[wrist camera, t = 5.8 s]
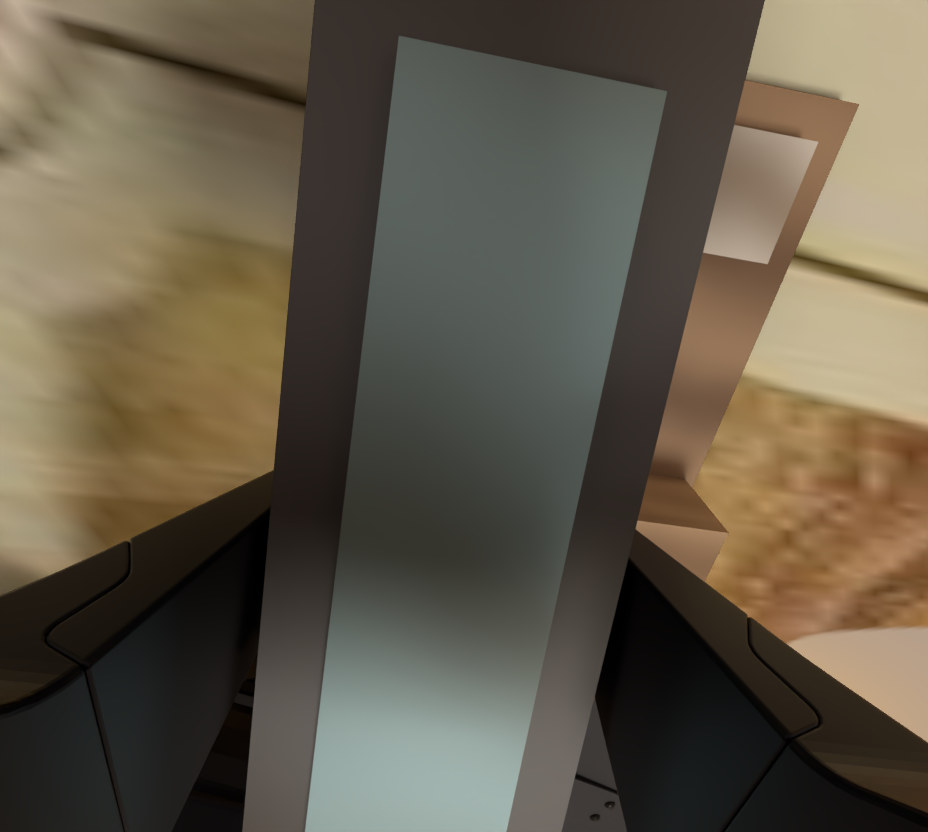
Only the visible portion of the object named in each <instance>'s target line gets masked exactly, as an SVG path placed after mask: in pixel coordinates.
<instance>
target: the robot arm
mask: <svg viewBox="0 0 928 832" xmlns="http://www.w3.org/2000/svg"><path fill="white" fill-rule="evenodd" d="M273 475H274V470H273V471H271V472H269V473H267V474H265V475H262V476H260V477H258V478H256V479H254V480H252V481H250V482H248V483H246V484H244V485H241V486H239V487H237V488H235V489H233V490H231V491H229V492H227V493H225V494H223V495H220V496H218V497H216V498H214V499H212V500H210V501H208V502H206V503H204V504H202V505H200V506H197V507H195V508H193V509H191V510H189V511H187V512H185V513H183V514H181V515H179V516H176V517H174V518H172V519H170V520H168V521H166V522H164V523H162V524H160V525H157V526H155V527H153V528H151V529H149V530H147V531H145V532H143V533H141V534H139V535H136V536H134V537H132V538H131V539H130V541H129V542H128V541H124V542H121V543H119V544H117V545H115V546H113V547H111V548H109V549H107V550H105V551H103V552H100V553H98V554H96V555H94V556H92V557H89V558H87V559H85V560H83V561H81V562H79V563H76V564H74V565H72V566H70V567H68V568H65V569H63V570H61V571H59V572H56V573H54V574H51V575H49V576H47V577H44V578H42V579H39V580H37V581H35V582H32V583H30V584H28V585H25V586H23V587H20V588H18V589H16V590H13V591H11V592H8V593H6V594H3V595H1V596H0V832H242V830H243V819H244V807H245V796H246V784H247V773H248V762H249V750H250V739H251V727H252V716H253V704H254V693H255V681H256V670H257V658H258V647H259V635H260V624H261V613H262V601H263V590H264V578H265V567H266V555H267V544H268V532H269V521H270V509H271V498H272V486H273ZM594 698H595V702H596V706H597V710H598V714H599V718H600V722H601V727H602V731H603V735H604V739H605V743H606V747H607V751H608V756H609V760H610V764H611V768H612V772H613V776H614V780H615V785H616V789H617V793H618V797H619V801H620V805H621V809H622V814H623V818H624V822H625V826H626V830H627V832H928V743H927V742H926V741H924V740H923V739H922V738H920V737H919V736H917V735H916V734H914V733H913V732H912V731H910V730H909V729H907V728H906V727H904V726H903V725H901V724H900V723H898V722H897V721H895V720H894V719H892V718H891V717H890V716H888V715H887V714H885V713H884V712H882V711H881V710H879V709H878V708H877V707H875V706H874V705H872V704H871V703H869V702H868V701H866V700H865V699H863V698H862V697H861V696H859V695H858V694H856V693H855V692H853V691H852V690H850V689H849V688H847V687H846V686H845V685H843V684H842V683H840V682H839V681H837V680H836V679H834V678H833V677H832V676H830V675H829V674H827V673H826V672H825V671H823V670H822V669H820V668H819V667H817V666H816V665H814V664H813V663H812V662H810V661H809V660H808V659H806V658H805V657H803V656H802V655H801V654H799V653H798V652H797V651H795V650H794V649H792V648H791V647H790V646H788V645H787V644H786V643H784V642H783V641H782V640H780V639H779V638H778V637H776V636H775V635H774V634H772V633H771V632H770V631H768V630H767V629H766V628H764V627H763V626H762V625H761V624H759V623H758V622H757V621H755V620H754V619H753V618H751V617H749V618H748V617H747V614H746V613H745V612H743V611H742V610H741V609H739V608H738V607H737V606H736V605H734V604H733V603H732V602H730V601H729V600H728V599H726V598H725V597H724V596H722V595H721V594H720V593H719V592H717V591H716V590H715V589H713V588H712V587H711V586H709V585H708V584H707V583H705V582H704V581H703V580H701V579H700V578H699V577H698V576H696V575H695V574H694V573H692V572H691V571H690V570H688V569H687V568H686V567H684V566H683V565H682V564H681V563H679V562H678V561H677V560H675V559H674V558H673V557H671V556H670V555H669V554H667V553H666V552H665V551H664V550H662V549H661V548H660V547H658V546H657V545H656V544H654V543H653V542H652V541H650V540H649V539H648V538H646V537H645V536H644V535H643V534H641V533H640V532H639V531H637V530H636V529H635V533H634V537H633V541H632V545H631V549H630V554H629V558H628V562H627V566H626V570H625V574H624V578H623V582H622V586H621V590H620V595H619V599H618V603H617V607H616V611H615V615H614V619H613V623H612V627H611V631H610V635H609V640H608V644H607V648H606V652H605V656H604V660H603V664H602V668H601V672H600V676H599V680H598V685H597V689H596V693H595V697H594Z"/></svg>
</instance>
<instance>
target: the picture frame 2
mask: <svg viewBox="0 0 928 832" xmlns="http://www.w3.org/2000/svg"><path fill="white" fill-rule="evenodd" d="M562 832H627V830H626V826H625V822H624V818H623V814H622V809H621V805H620V801H619V797H618V793H617V789H616V785H615V780H614V776H613V772H612V768H611V764H610V760H609V756H608V751H607V747H606V743H605V739H604V735H603V731H602V727H601V722H600V718H599V714H598V710H597V706H596V702H595V698H594V701H593V705H592V709H591V713H590V717H589V721H588V725H587V730H586V734H585V738H584V742H583V746H582V750H581V754H580V758H579V762H578V766H577V771H576V775H575V779H574V783H573V787H572V791H571V795H570V799H569V803H568V807H567V811H566V816H565V820H564V824H563V828H562Z"/></svg>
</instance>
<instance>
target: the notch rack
mask: <svg viewBox="0 0 928 832" xmlns="http://www.w3.org/2000/svg"><path fill="white" fill-rule="evenodd" d="M858 106H859V104H856V103H851V102H846V101H842V100H837V99H832V98H827V97H822V96H818V95H813V94H808V93H803V92H799V91H794V90H789V89H784V88H780V87H775V86H770V85H765V84H761V83H756V82H751V81H746V80H745V83H744V87H743V91H742V95H741V99H740V103H739V107H738V111H737V116H736V120H735V124H734V128H733V132H732V136H731V140H730V144H729V148H728V152H727V157H726V161H725V165H724V169H723V173H722V177H721V181H720V185H719V189H718V193H717V197H716V202H715V206H714V210H713V214H712V218H711V222H710V226H709V230H708V234H707V238H706V242H705V247H704V251H703V255H702V259H701V263H700V267H699V271H698V275H697V279H696V283H695V288H694V292H693V296H692V300H691V304H690V308H689V312H688V316H687V320H686V324H685V328H684V333H683V337H682V341H681V345H680V349H679V353H678V357H677V361H676V365H675V369H674V373H673V378H672V382H671V386H670V390H669V394H668V398H667V402H666V406H665V410H664V414H663V418H662V423H661V427H660V431H659V435H658V439H657V443H656V447H655V451H654V455H653V459H652V464H651V468H650V472H649V476H648V480H647V484H646V488H645V492H644V496H643V500H642V504H641V509H640V513H639V517H638V521H637V525H636V530H637V531H639V532H640V533H641V534H643V535H644V536H645V537H646V538H648V539H649V540H650V541H652V542H653V543H654V544H656V545H657V546H658V547H660V548H661V549H662V550H664V551H665V552H666V553H667V554H669V555H670V556H671V557H673V558H674V559H675V560H677V561H678V562H679V563H681V564H682V565H683V566H684V567H686V568H687V569H688V570H690V571H691V572H692V573H694V574H695V575H696V576H698V577H699V578H700V579H701V580H703V581H704V582H705V580H706V578H707V576H708V574H709V572H710V570H711V568H712V566H713V564H714V562H715V560H716V558H717V556H718V554H719V552H720V550H721V547H722V545H723V543H724V541H725V539H726V537H727V535H728V532H727V530H726V529H725V528H724V527H723V525H722V524H721V523H720V522H719V520H718V519H717V518H716V517H715V515H714V514H713V513H712V512H711V511H710V509H709V508H708V507H707V506H706V504H705V503H704V502H703V501H702V499H701V498H700V497H699V496H698V495H697V493H696V492H695V491H694V490H693V488H692V487H693V485H694V483H695V480H696V478H697V476H698V473H699V471H700V469H701V467H702V464H703V462H704V460H705V457H706V455H707V453H708V450H709V448H710V446H711V444H712V441H713V439H714V437H715V434H716V432H717V430H718V428H719V425H720V423H721V421H722V418H723V416H724V414H725V411H726V409H727V407H728V405H729V402H730V400H731V398H732V395H733V393H734V391H735V388H736V386H737V384H738V382H739V379H740V377H741V375H742V372H743V370H744V368H745V366H746V363H747V361H748V359H749V356H750V354H751V352H752V349H753V347H754V345H755V343H756V340H757V338H758V336H759V333H760V331H761V329H762V326H763V324H764V322H765V320H766V317H767V315H768V313H769V310H770V308H771V306H772V303H773V301H774V299H775V297H776V294H777V292H778V290H779V287H780V285H781V283H782V281H783V278H784V276H785V274H786V271H787V269H788V267H789V264H790V262H791V260H792V258H793V255H794V253H795V251H796V248H797V246H798V244H799V241H800V239H801V237H802V235H803V232H804V230H805V228H806V225H807V223H808V221H809V219H810V216H811V214H812V212H813V209H814V207H815V205H816V202H817V200H818V198H819V196H820V193H821V191H822V189H823V186H824V184H825V182H826V179H827V177H828V175H829V173H830V170H831V168H832V166H833V163H834V161H835V159H836V157H837V154H838V152H839V150H840V147H841V145H842V143H843V140H844V138H845V136H846V134H847V131H848V129H849V127H850V124H851V122H852V120H853V117H854V115H855V113H856V111H857V108H858Z"/></svg>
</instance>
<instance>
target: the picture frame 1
mask: <svg viewBox="0 0 928 832" xmlns="http://www.w3.org/2000/svg"><path fill="white" fill-rule="evenodd" d="M764 1H765V0H315V5H314V17H313V28H312V40H311V51H310V63H309V74H308V85H307V97H306V108H305V120H304V131H303V143H302V154H301V166H300V177H299V189H298V200H297V211H296V223H295V234H294V246H293V257H292V269H291V280H290V292H289V303H288V315H287V326H286V338H285V349H284V360H283V372H282V383H281V395H280V406H279V418H278V429H277V441H276V452H275V464H274V475H273V486H272V498H271V509H270V521H269V532H268V544H267V555H266V567H265V578H264V590H263V601H262V613H261V624H260V635H259V647H258V658H257V670H256V681H255V693H254V704H253V716H252V727H251V739H250V750H249V762H248V773H247V784H246V796H245V807H244V819H243V830H242V832H562V828H563V824H564V820H565V816H566V811H567V807H568V803H569V799H570V795H571V791H572V787H573V783H574V779H575V775H576V771H577V766H578V762H579V758H580V754H581V750H582V746H583V742H584V738H585V734H586V730H587V725H588V721H589V717H590V713H591V709H592V705H593V701H594V697H595V693H596V689H597V685H598V680H599V676H600V672H601V668H602V664H603V660H604V656H605V652H606V648H607V644H608V640H609V635H610V631H611V627H612V623H613V619H614V615H615V611H616V607H617V603H618V599H619V595H620V590H621V586H622V582H623V578H624V574H625V570H626V566H627V562H628V558H629V554H630V549H631V545H632V541H633V537H634V533H635V529H636V525H637V521H638V517H639V513H640V509H641V504H642V500H643V496H644V492H645V488H646V484H647V480H648V476H649V472H650V468H651V464H652V459H653V455H654V451H655V447H656V443H657V439H658V435H659V431H660V427H661V423H662V418H663V414H664V410H665V406H666V402H667V398H668V394H669V390H670V386H671V382H672V378H673V373H674V369H675V365H676V361H677V357H678V353H679V349H680V345H681V341H682V337H683V333H684V328H685V324H686V320H687V316H688V312H689V308H690V304H691V300H692V296H693V292H694V288H695V283H696V279H697V275H698V271H699V267H700V263H701V259H702V255H703V251H704V247H705V242H706V238H707V234H708V230H709V226H710V222H711V218H712V214H713V210H714V206H715V202H716V197H717V193H718V189H719V185H720V181H721V177H722V173H723V169H724V165H725V161H726V157H727V152H728V148H729V144H730V140H731V136H732V132H733V128H734V124H735V120H736V116H737V111H738V107H739V103H740V99H741V95H742V91H743V87H744V83H745V79H746V75H747V71H748V66H749V62H750V58H751V54H752V50H753V46H754V42H755V38H756V34H757V30H758V26H759V21H760V17H761V13H762V9H763V5H764Z"/></svg>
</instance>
